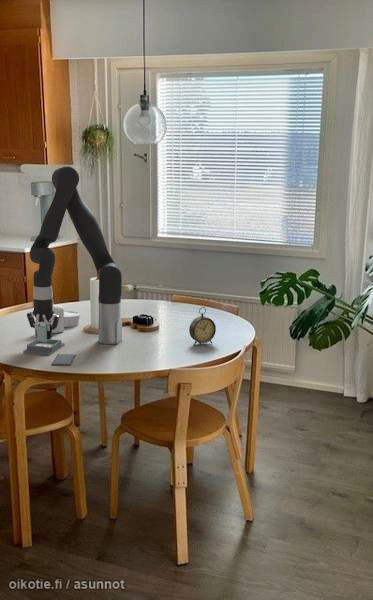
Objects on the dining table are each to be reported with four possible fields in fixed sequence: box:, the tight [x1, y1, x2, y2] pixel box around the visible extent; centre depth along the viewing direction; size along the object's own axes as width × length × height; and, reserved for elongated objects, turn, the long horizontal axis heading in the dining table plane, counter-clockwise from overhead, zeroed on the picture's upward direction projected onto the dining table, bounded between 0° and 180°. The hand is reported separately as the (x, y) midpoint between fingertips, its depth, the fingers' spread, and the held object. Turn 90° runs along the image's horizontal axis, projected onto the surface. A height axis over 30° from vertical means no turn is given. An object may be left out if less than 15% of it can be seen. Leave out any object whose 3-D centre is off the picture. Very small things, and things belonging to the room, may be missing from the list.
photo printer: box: [41, 304, 65, 334], centre depth 258 cm, size 10×4×12 cm, turn 123°
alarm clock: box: [188, 306, 217, 347], centre depth 248 cm, size 11×5×16 cm, turn 117°
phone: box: [51, 353, 77, 367], centre depth 224 cm, size 7×12×1 cm, turn 2°
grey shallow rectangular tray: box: [22, 338, 66, 356], centre depth 236 cm, size 11×14×3 cm
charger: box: [36, 324, 52, 342], centre depth 235 cm, size 4×4×6 cm
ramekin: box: [64, 310, 81, 328], centre depth 271 cm, size 11×11×5 cm
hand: (43, 338), depth 236 cm, fingers closed on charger, 4 cm apart
